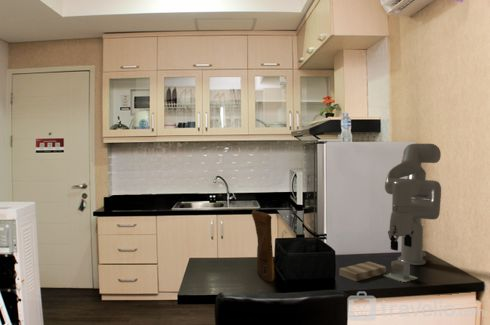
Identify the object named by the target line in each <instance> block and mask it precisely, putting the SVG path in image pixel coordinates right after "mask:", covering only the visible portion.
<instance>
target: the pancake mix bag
mask: <svg viewBox="0 0 490 325" xmlns="http://www.w3.org/2000/svg"><path fill="white" fill-rule="evenodd" d="M251 216H252V220H253V222H254V225H255V227H254V228H255V231H256V232H255V233H256V237H257V248H256V250H257V251H256V253H257V254H256V273H257V274H258V275H259V276H260V277H261V279H262V280H263V281H266V282H270V283H271V282H273V281H274V280H275V268H274V255H273V254H274V253H273V243H272V241H273V240H272V238H273V237H272V215H270V214H268V213H266V212H262V211H258V210H255V209H253V210H252V211H251Z"/></svg>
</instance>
